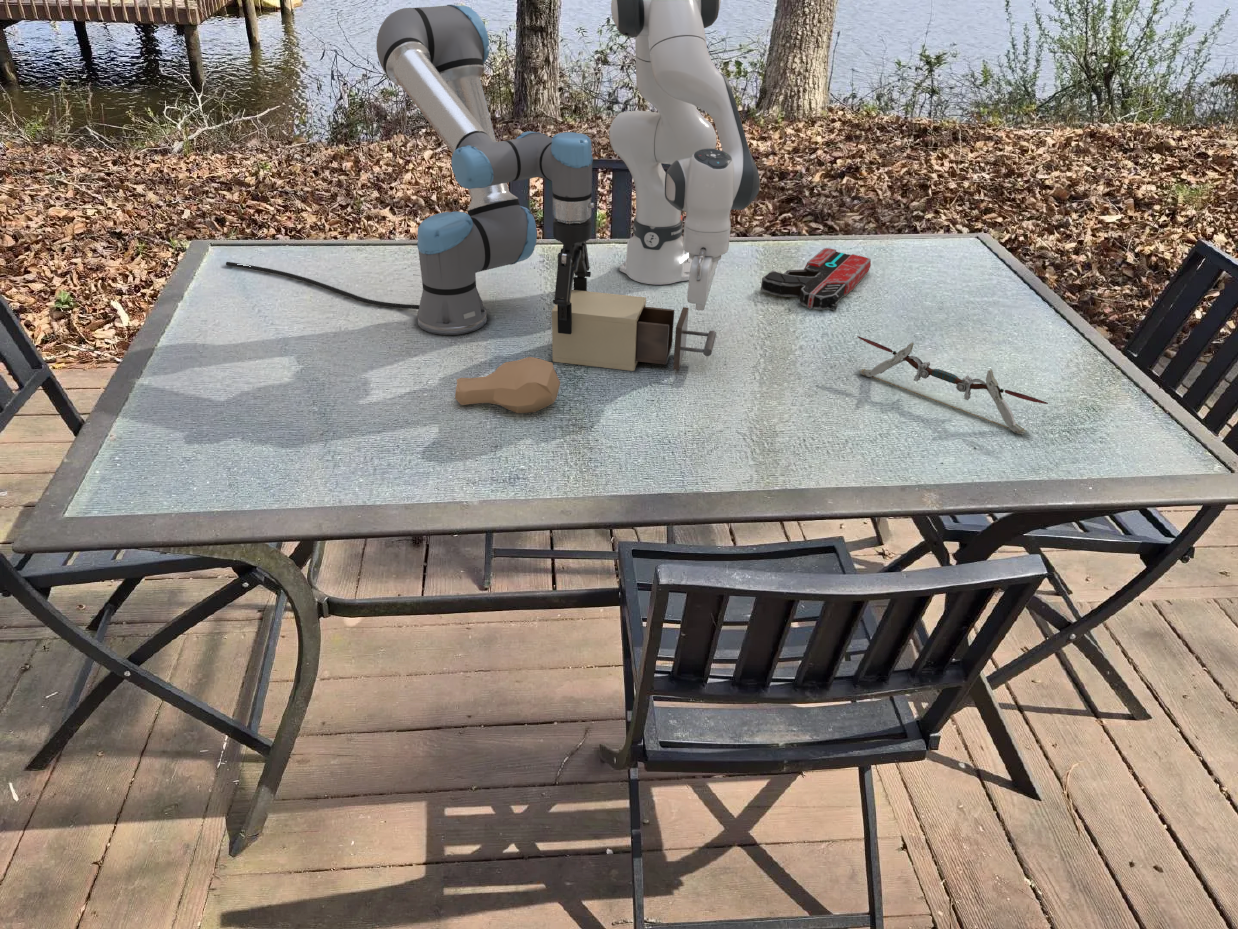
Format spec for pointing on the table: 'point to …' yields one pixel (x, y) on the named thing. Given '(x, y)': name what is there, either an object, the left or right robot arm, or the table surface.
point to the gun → (819, 279)
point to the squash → (513, 386)
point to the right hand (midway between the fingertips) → (700, 307)
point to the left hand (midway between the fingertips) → (572, 319)
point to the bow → (962, 385)
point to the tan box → (599, 331)
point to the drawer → (666, 336)
